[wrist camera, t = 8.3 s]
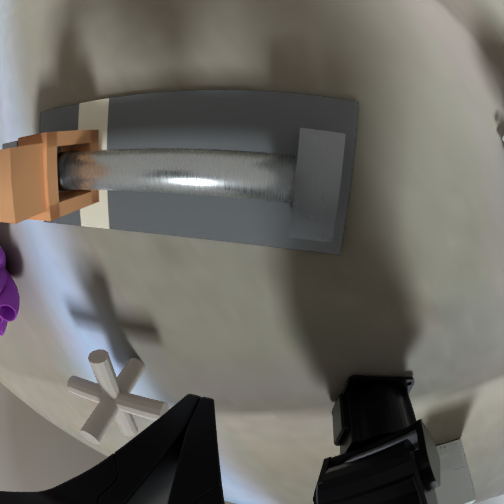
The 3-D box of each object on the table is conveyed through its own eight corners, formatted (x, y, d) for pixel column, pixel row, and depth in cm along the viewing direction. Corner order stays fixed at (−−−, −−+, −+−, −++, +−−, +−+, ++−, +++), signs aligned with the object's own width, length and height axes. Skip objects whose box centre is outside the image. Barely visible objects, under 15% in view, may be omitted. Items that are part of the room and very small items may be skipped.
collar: (98, 129, 17) (13, 135, 10) (99, 201, 19) (20, 235, 12) (69, 133, 18) (-13, 142, 10) (70, 200, 20) (-6, 230, 12)
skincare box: (418, 449, 27) (431, 515, 17) (460, 437, 25) (479, 498, 16) (402, 481, 30) (409, 535, 20) (440, 471, 29) (450, 523, 19)
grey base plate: (357, 102, 16) (358, 101, 16) (339, 252, 20) (339, 255, 19) (43, 112, 19) (40, 112, 18) (46, 220, 22) (43, 221, 22)
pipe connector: (85, 315, 25) (22, 376, 16) (175, 331, 24) (123, 419, 15) (110, 387, 29) (68, 448, 20) (189, 406, 28) (158, 483, 18)
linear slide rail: (331, 136, 17) (345, 133, 12) (322, 215, 18) (332, 242, 14) (50, 137, 19) (2, 144, 14) (51, 195, 21) (6, 211, 16)
